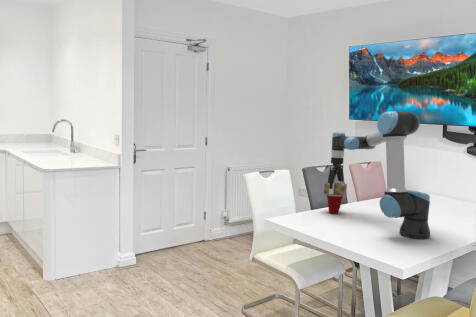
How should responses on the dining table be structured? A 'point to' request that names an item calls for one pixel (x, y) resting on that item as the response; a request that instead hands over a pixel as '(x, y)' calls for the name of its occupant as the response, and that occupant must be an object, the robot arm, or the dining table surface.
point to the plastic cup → (334, 203)
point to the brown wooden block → (336, 188)
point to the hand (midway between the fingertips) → (335, 192)
